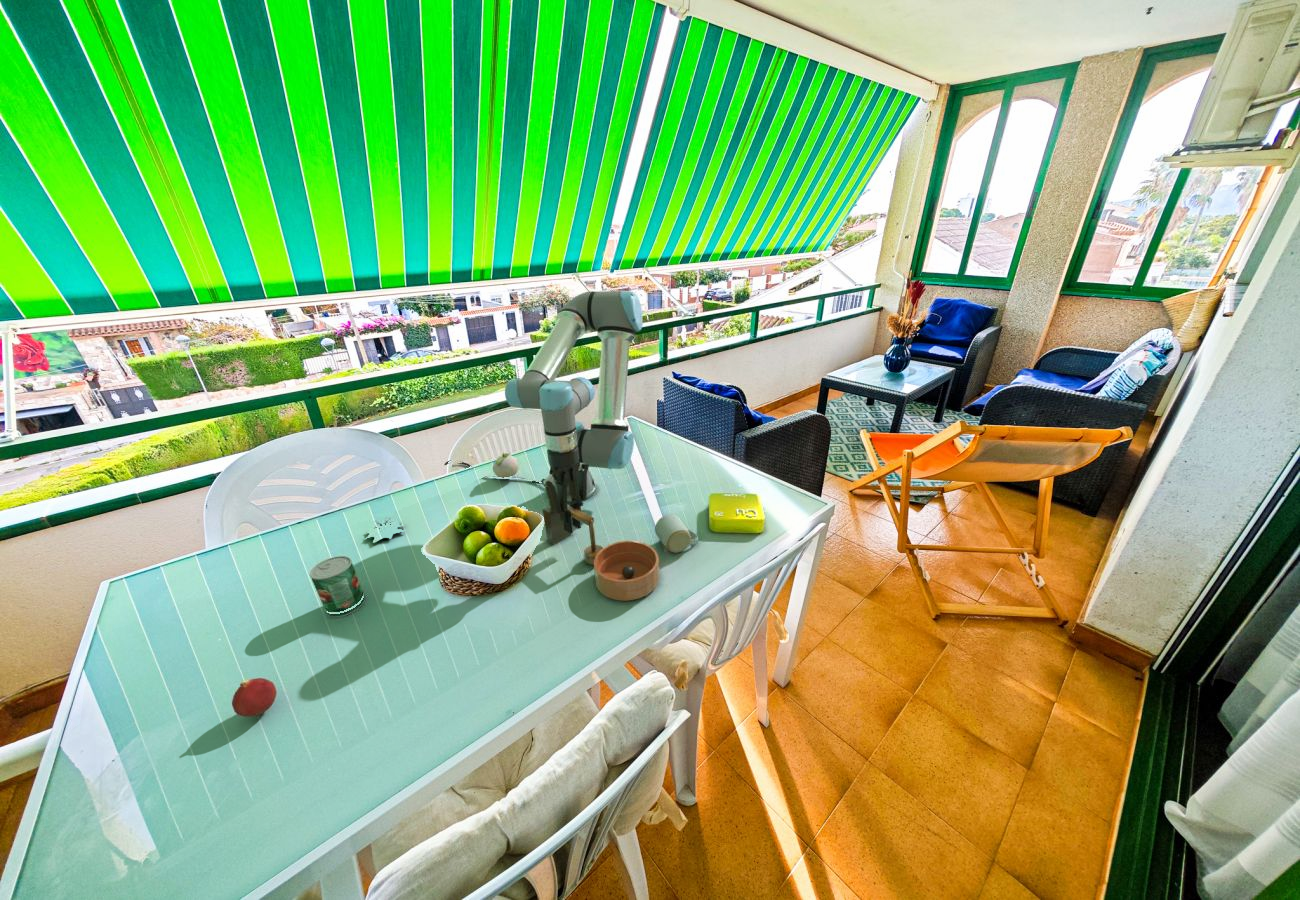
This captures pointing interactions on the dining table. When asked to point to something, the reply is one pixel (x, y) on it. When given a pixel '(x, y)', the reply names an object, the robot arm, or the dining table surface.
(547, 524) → the dark upright slab
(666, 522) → the ceramic mug
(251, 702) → the red plum
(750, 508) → the element tile
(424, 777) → the dining table surface
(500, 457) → the decorative fruit
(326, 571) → the canned tomato
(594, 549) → the ladle
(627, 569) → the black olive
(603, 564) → the bowl
